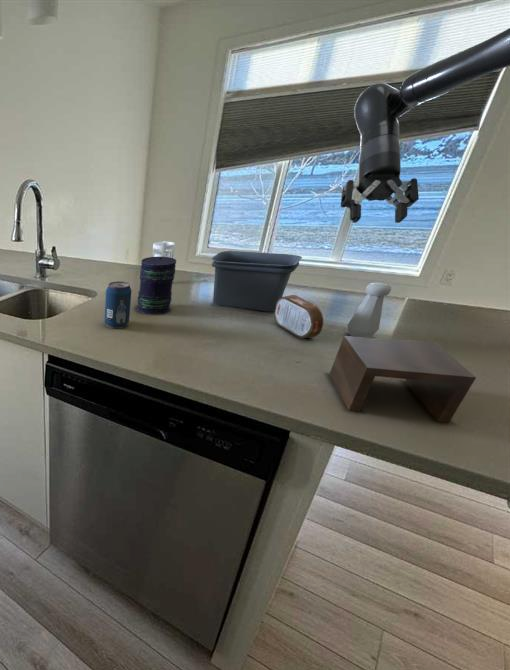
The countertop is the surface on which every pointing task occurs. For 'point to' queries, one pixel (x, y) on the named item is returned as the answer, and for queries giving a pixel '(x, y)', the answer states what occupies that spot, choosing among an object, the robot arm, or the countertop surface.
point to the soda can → (117, 304)
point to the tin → (298, 316)
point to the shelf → (401, 372)
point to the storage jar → (156, 285)
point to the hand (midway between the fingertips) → (378, 220)
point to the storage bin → (251, 278)
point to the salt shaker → (369, 311)
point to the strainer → (163, 249)
